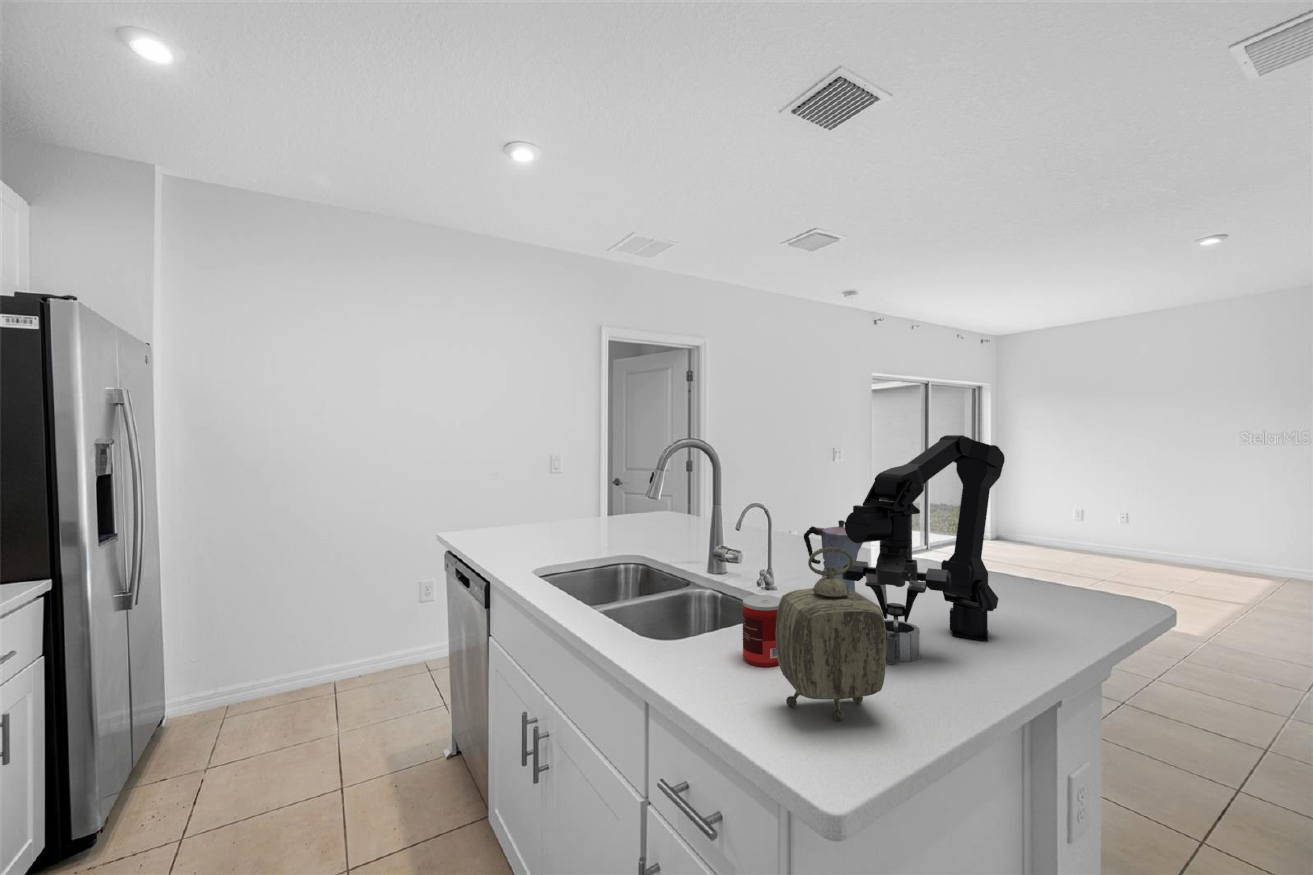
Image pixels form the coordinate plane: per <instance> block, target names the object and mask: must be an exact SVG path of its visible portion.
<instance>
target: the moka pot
mask: <svg viewBox="0 0 1313 875" xmlns="http://www.w3.org/2000/svg"><path fill="white" fill-rule="evenodd" d="M837 522H838V526H833V527H831V526H830V527H826V528H825V527H816V526H812V525H811V526H810V527H809V528H808V529H807V530H806V531H805V533H803V540H804V542H805V546H806V548H807V553H808V556H809V557H810V556H811V555H812V554H813V553H814V552H813V547H812V544H811V538H810V535H812V534H813V535H815V536H821V538H820V539H821V548H826V547H836V548H842V549H844V550H846V551H847V552H848V553H850V554H851V556H852V558H853V561H858V560H857V558H858V555H859V552H860V549H861V548H862V546H863V544H864V543H854V542H852V541H851V540H850V539H849V537H848V536H847V534H846V531H845V522H846V520H843V519H842V520H841V519H840V520H838V521H837ZM822 559H823V560H824V561H823V566H824V567H823V570H822V571H827V567H828V566H830V565H831V566H833V567H834V571H836V570H841V569H843V567H844V566H845V565H846V564H847V563H848V562H849V561H850V560H849V558H848V556H846V555H845V554H843V553H841V552H824V553H822ZM821 562H822V561H821V560H820V559H816V558H815V557H814V558H813V560H812V562H811V564H816V565H820V564H821ZM822 577H827V576H825V575H821V578H822ZM834 577H837V578H839V579H841V580H842V581H843V582H844V583H845V584H846V586H847V587H848V589H849V590H852V591H854V592H856V581H852V580H844V579H843V574H840V575H835V576H834Z"/></svg>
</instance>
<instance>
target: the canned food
mask: <svg viewBox="0 0 1313 875" xmlns="http://www.w3.org/2000/svg"><path fill="white" fill-rule="evenodd" d="M781 598H782V597H781ZM781 598H780V597H778V596H775V595H768V594H754V595H748V596H745V597H744V598H743V599H742V655H743V660H744V661H745V662H746V663H747V664H750V665H752V666H754V667H758V668H759V667H760V668H772V667H773V668H774V667H776V666H779V663H778V658H777V648H776V636H775V635H776V620H777V611H778V606H779V603H780V600H781Z"/></svg>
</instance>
